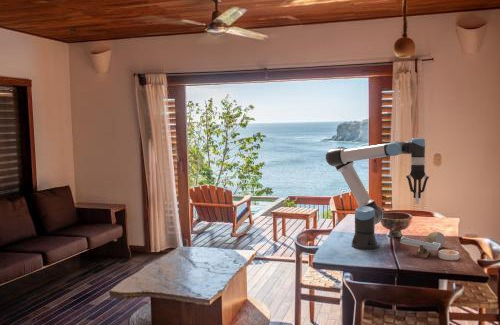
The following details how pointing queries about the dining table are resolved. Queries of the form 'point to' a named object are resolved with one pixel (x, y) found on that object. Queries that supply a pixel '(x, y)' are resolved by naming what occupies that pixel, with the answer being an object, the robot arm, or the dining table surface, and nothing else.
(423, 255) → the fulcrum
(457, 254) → the bowl
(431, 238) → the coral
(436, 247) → the lever
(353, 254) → the dining table surface
